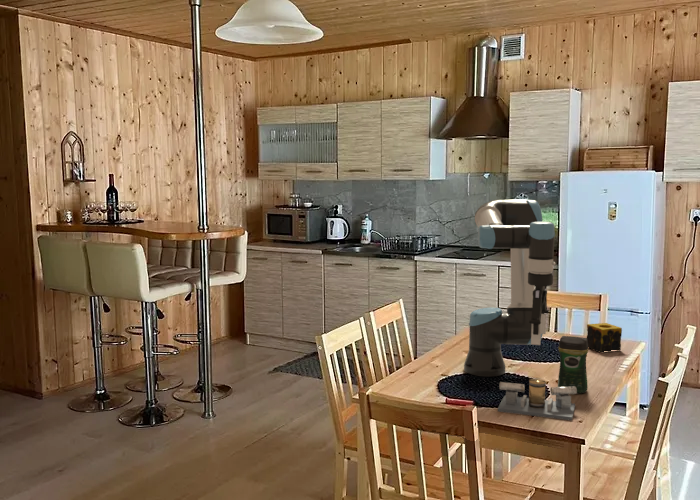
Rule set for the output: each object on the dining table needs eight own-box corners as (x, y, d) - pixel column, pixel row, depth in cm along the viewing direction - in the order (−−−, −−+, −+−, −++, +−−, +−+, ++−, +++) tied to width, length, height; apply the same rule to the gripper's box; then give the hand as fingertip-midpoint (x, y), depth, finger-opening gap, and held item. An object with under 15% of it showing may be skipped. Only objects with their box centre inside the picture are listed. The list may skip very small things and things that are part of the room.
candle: (585, 347, 289) (585, 324, 288) (605, 345, 292) (606, 322, 291) (600, 353, 279) (601, 329, 278) (621, 351, 282) (622, 327, 281)
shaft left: (498, 403, 217) (498, 383, 216) (500, 399, 220) (501, 380, 220) (522, 406, 214) (523, 386, 213) (524, 402, 218) (525, 382, 217)
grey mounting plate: (497, 411, 212) (497, 401, 212) (504, 398, 224) (504, 389, 224) (572, 420, 204) (572, 410, 204) (575, 406, 216) (575, 397, 216)
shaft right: (554, 409, 211) (555, 389, 210) (548, 405, 214) (549, 385, 214) (577, 408, 212) (578, 388, 211) (571, 404, 216) (572, 384, 215)
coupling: (535, 409, 211) (536, 384, 210) (525, 404, 216) (525, 379, 215) (548, 407, 213) (549, 382, 212) (538, 402, 218) (538, 377, 217)
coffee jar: (588, 388, 234) (590, 335, 232) (585, 395, 227) (587, 340, 224) (559, 385, 238) (560, 332, 236) (555, 391, 231) (557, 337, 229)
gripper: (548, 279, 199) (546, 350, 202) (557, 266, 222) (555, 330, 225) (522, 278, 202) (520, 348, 205) (533, 265, 225) (531, 328, 228)
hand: (538, 338), depth 215 cm, fingers open, 13 cm apart
